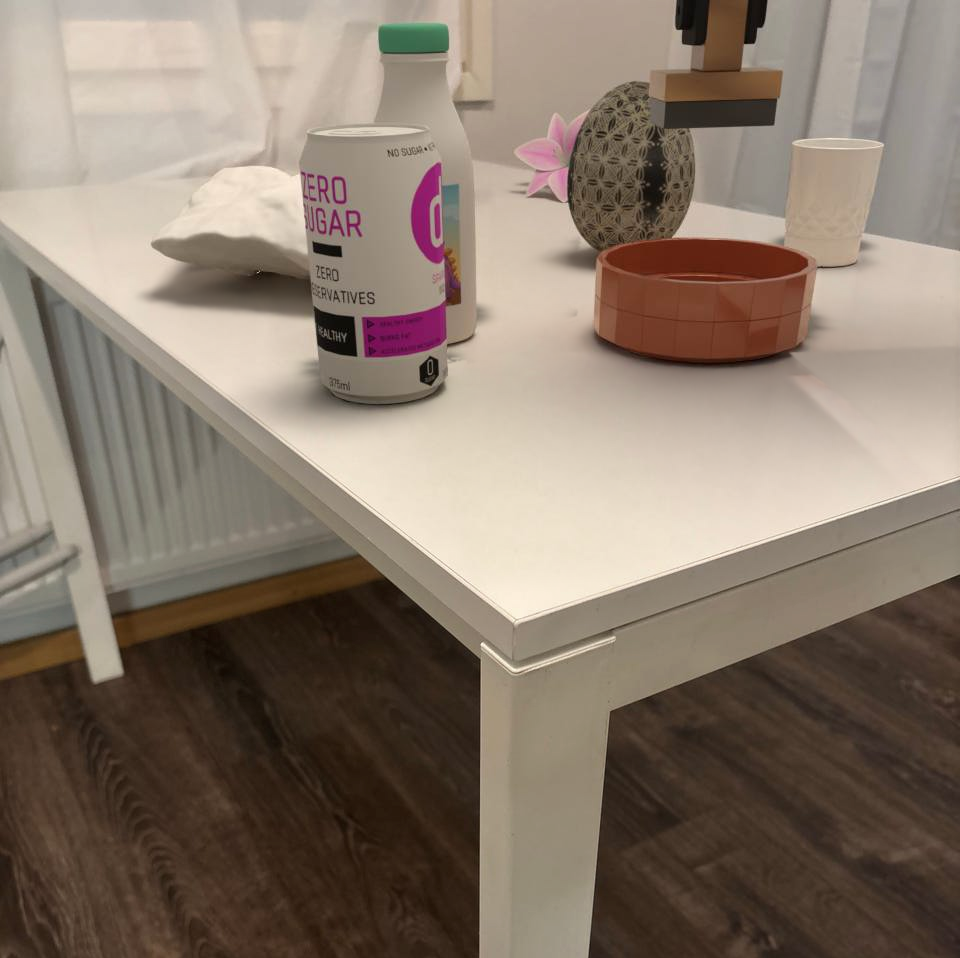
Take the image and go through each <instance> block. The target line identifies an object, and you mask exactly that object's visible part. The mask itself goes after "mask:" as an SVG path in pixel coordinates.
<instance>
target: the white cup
mask: <svg viewBox="0 0 960 958" xmlns="http://www.w3.org/2000/svg"><path fill="white" fill-rule="evenodd" d="M884 147H885V144H884V143H883V142H881V141H876V140H872V139H871V140H870V139H861V138H846V137H844V138H842V137H820V138H819V137H818V138H805V139H798V140H794V141H792V142H791V151H790V164H789V174H788V183H787V192H786V193H787V194H786V202H785V203H786V206H785V207H786V208H785V219H784V220H785V221H784V228H785V233H784V241H783V242H784V243H783V246H786V247H789V248H792V249H796V250H799V251H802V252H805V253H806V254H808V255H810V256H811V257H813V258H815V259H816V263H817V267H821V266H822V268H823V267H825V268H826V267H828V268H829V267H830V268H831V267H832V268H833V267H844V266H849V265H852V264H855V263H856V262H857V260H858V256H859V251H860V247H861V243H862V238H863V233H864V232H865V230H866V226H867V222H868V221H867V220H868V218H869V215H870V209H871V205H872V204H871V203H872V201H873V198H874V193H875V189H876V184H877V180H878V175H879V172H880V171H879V170H880V167H881V161H882V157H883V152H884Z"/></svg>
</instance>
